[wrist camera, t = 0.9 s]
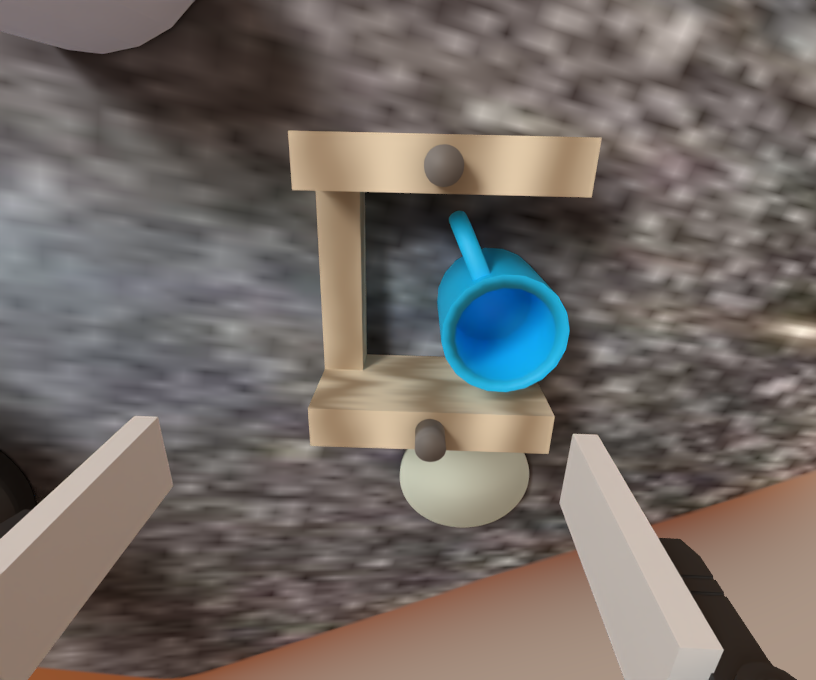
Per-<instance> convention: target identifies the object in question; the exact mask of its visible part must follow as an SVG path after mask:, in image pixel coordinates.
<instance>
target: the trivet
mask: <svg viewBox="0 0 816 680" xmlns="http://www.w3.org/2000/svg"><path fill="white" fill-rule="evenodd" d="M528 481H529V466H528V463H527V459H526V456H525V453H509V452H480V451H450V450H446V452H445V455H444V456H443V457H442V458H441V459H440V460H438V461H435V462H426V461H423V460H421V459H420V458H419V457H418V456H417V455H416V453H415V449H406V450H405V453H404V455H403V457H402V461H401V467H400V484H401V488H402V491H403V494H404V496H405V498H406V499H407V501H408V502H409V504H410V505H411V506H412V507H413V508H414V509H415V510H416V511H417V512H418V513H419V514H421V515H422V516H424V517H425V518H427V519H429V520H431V521H433V522H436V523H438V524H442V525H445V526H451V527H475V526H480V525H484V524H487V523H491V522H493V521H495V520H497V519H499V518H501V517H503V516H504V515H506V514H507V513H509V512H510V511H511V510H512V509H513V508H514V507H515V506H516V505H517V504H518V503H519V502H520V500H521V499H522V497H523V495H524V494H525V491H526V489H527V486H528Z"/></svg>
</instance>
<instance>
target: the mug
mask: <svg viewBox="0 0 816 680" xmlns="http://www.w3.org/2000/svg"><path fill="white" fill-rule="evenodd" d="M449 223H450V225H451V228H452V230H453V233H454V236H455V238H456V241H457V243H458V246H459V248H460V251H461V253H462V257H461V258H459V259H457V260H456V261H455V262H454V263H453V264H452V265H451V267H450V268H449V269H448V270H447V271H446V272H445V274H444V276H443V278H442V281H441V283H440V285H439V289H438V301H437V304H438V314H439V324H440V333H441V342H442V346H443V350H444V354H445V358H446V360H447V362H448V363H449V365H450V366H451V367H452V369H453V370H454V372H455V373H456V374H457V375H458V376H459V377H461V378H462V379H463V380H464V381H466V382H467V383H468V384H470V385H472V386H475V387H478V388H480V389H483V390H486V391H495V392H510V391H514V390H519V389H524V388H526V387H528V386H530V385H532V384H534V383H536V382H538V381H540V380H542V379H543V378H544V377H545V376H546V375H547V374H548V373H550V372H551V371H552V370H553V369H554V368H555V367H556V366H557V364H558V362H559V361H560V359H561V357H562V355H563V354H564V352H565V350H566V347H567V342H568V337H569V332H570V329H569V322H568V315H567V311H566V310H565V308H564V306H563V304H562V302H561V300H560V299H559V297H558V295H557V294H556V293H555V292H554V291H553V290H552V289H551V288H550V287H549V286H548V285H547V284H546V282H545V281H544V280H543V279H542V278H541V277H540V276H539V275H538V274H537V273H536V272H535V271H534V269H533V268H532V267H531V266H530V265H529V264H528V263H526V262H525V261H524V260H523V259H522V258H521V257H520V256H519V255H517V254H514V253H512V252H510V251H507V250H505V249H498V248H483V249H481V247H480V245H479V242H478V240H477V237H476V235H475V233H474V230H473V228H472V226H471V223H470V221H469V219H468V217H467V215H466V213H465V212H463V211H456V212H454V213H452V214H451V215H450V217H449Z"/></svg>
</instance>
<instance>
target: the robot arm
mask: <svg viewBox="0 0 816 680" xmlns="http://www.w3.org/2000/svg"><path fill="white" fill-rule="evenodd" d="M172 487H173V483H172V478H171V474H170V469H169V465H168V460H167V456H166V451H165V447H164V442H163V437H162V433H161V428H160V424H159V419H158V417H147V416H134V417H133V418H132V419H131V420H129V421H128V422H127V423H126V424H125V425H124V426H123V427H122V428H121V429H120V430H119V431H117V432H116V433H115V434H114V435H113V436H112V437H111V438H110V439H109V440H108V441H107V442H106V443H104V444H103V445H102V446H101V447H100V448H99V449H98V450H97V451H96V452H95V453H94V454H92V455H91V456H90V457H89V458H88V459H87V460H86V461H85V462H84V463H83V464H82V465H80V466H79V467H78V468H77V469H76V470H75V471H74V472H73V473H72V474H71V475H70V476H68V477H67V478H66V479H65V480H64V481H63V482H62V483H61V484H60V485H59V486H58V487H56V488H55V489H54V490H53V491H52V492H51V493H50V494H49V495H48V496H47V497H46V498H44V499H43V500H42V501H41V502H40V503H39V504H38V505H37V506H36V505H35V499H34V495H33V492H32V489H31V487H30V485H29V483H28V481H27V480H26V478H25V476H24V475H23V474H22V472H21V471H20V470H19V468H18V467H17V466H16V465H15V464H14V463H13V462H12V461H11V460H10V459H9V458H8V457H7V456H6V455H4V454H3V453H2V452H1V451H0V680H28V678H29V677H30V676H31V674H32V673H33V672H34V670H35V669H36V668H37V667H38V665H39V664H40V663H41V661H42V660H43V659H44V657H45V656H46V655H47V653H48V652H49V651H50V649H51V648H52V647H53V645H54V644H55V643H56V641H57V640H58V639H59V637H60V636H61V635H62V633H63V632H64V631H65V629H66V628H67V627H68V625H69V624H70V623H71V621H72V620H73V619H74V617H75V616H76V615H77V613H78V612H79V611H80V609H81V608H82V607H83V605H84V604H85V603H86V601H87V600H88V599H89V597H90V596H91V595H92V593H93V592H94V591H95V589H96V588H97V587H98V585H99V584H100V583H101V581H102V580H103V579H104V577H105V576H106V575H107V573H108V572H109V571H110V569H111V568H112V567H113V565H114V564H115V563H116V561H117V560H118V559H119V557H120V556H121V555H122V553H123V552H124V551H125V549H126V548H127V547H128V545H129V544H130V543H131V541H132V540H133V539H134V537H135V536H136V535H137V533H138V532H139V531H140V529H141V528H142V527H143V525H144V524H145V523H146V521H147V520H148V519H149V517H150V516H151V515H152V513H153V512H154V511H155V509H156V508H157V507H158V505H159V504H160V503H161V501H162V500H163V499H164V497H165V496H166V495H167V493H168V492H169V491H170V489H171V488H172ZM560 506H561V509H562V511H563V514H564V517H565V519H566V522H567V525H568V528H569V530H570V533H571V536H572V538H573V541H574V544H575V547H576V549H577V552H578V555H579V558H580V560H581V563H582V566H583V568H584V571H585V574H586V577H587V579H588V582H589V584H590V588H591V590H592V593H593V596H594V598H595V601H596V604H597V606H598V609H599V612H600V615H601V617H602V620H603V623H604V626H605V628H606V631H607V634H608V637H609V639H610V642H611V645H612V647H613V650H614V653H615V656H616V658H617V661H618V664H619V666H620V669H621V672H622V675H623V677H624V680H797V679H795V678H794V677H792V676H791V675H790V674H788V673H787V672H785V671H783V670H781V669H778V668H777V667H774V666H773V665H772V664H771V663H770V661H769V660H768V659H767V657H766V655H765V654H764V652H763V651H762V650H761V648H760V646H759V645H758V643H757V642H756V640H755V639H754V637H753V636H752V634H751V633H750V631H749V630H748V628H747V627H746V625H745V624H744V622H743V621H742V619H741V618H740V616H739V615H738V613H737V612H736V610H735V609H734V607H733V606H732V604H731V603H730V601H729V600H728V598H727V597H725V596H724V592H723V591H722V589H721V588H720V586H719V584H718V583H717V581H716V580H714V579H713V575H712V574H711V572H710V571H709V569H708V568H707V566H706V565H705V563H704V562H703V560H702V559H701V557H700V556H699V555H698V554H696V553H695V552H694V551H693V550H692V549H691V548H690V547H689V546H687V545H686V544H685V543H684V542H683V541H682V540H681V539H670V538H658V537H657V535H656V534H655V532H654V530H653V528H652V527H651V525H650V523H649V522H648V520H647V518H646V516H645V515H644V513H643V511H642V510H641V508H640V506H639V505H638V503H637V501H636V499H635V498H634V496H633V494H632V493H631V491H630V489H629V487H628V486H627V484H626V482H625V481H624V479H623V477H622V476H621V474H620V472H619V470H618V469H617V467H616V465H615V464H614V462H613V460H612V458H611V457H610V455H609V453H608V452H607V450H606V448H605V447H604V445H603V443H602V441H601V440H600V438H599V436H598V435H591V434H573V435H572V440H571V445H570V451H569V456H568V461H567V467H566V472H565V477H564V482H563V488H562V493H561V498H560Z"/></svg>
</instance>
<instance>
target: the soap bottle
mask: <svg viewBox="0 0 816 680" xmlns="http://www.w3.org/2000/svg"><path fill="white" fill-rule="evenodd" d="M194 1H195V0H0V31H2V32H5V33H9V34H12V35H16V36H20V37H23V38H27V39H31V40H34V41H38V42H41V43H45V44H49V45H52V46H56V47H59V48H63V49H67V50H73V51H82V52H90V53H99V54H106V53H110V52H115V51H120V50H124V49H129V48H134V47H139V46H141V45H142V44H144V43H146V42H147V41H149V40H151V39H153V38H154V37H156V36H158V35H160V34H161V33H163V32H165V31H166V30H168V29H170V28H171V27H173V25H174V24H175V23H176V22H177V21H178V19H179V18H180V17H181V16H182V15H183V14H184V12H185V11H186V10H187V9H188V8H189V7H190V5H191V4H192V3H193V2H194Z"/></svg>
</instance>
